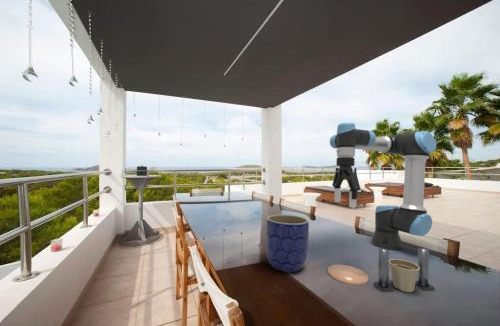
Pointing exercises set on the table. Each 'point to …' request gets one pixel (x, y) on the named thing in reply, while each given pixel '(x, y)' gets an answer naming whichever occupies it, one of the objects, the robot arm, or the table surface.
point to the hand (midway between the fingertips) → (344, 204)
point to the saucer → (348, 274)
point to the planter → (287, 242)
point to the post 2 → (423, 270)
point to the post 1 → (383, 271)
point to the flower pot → (404, 274)
